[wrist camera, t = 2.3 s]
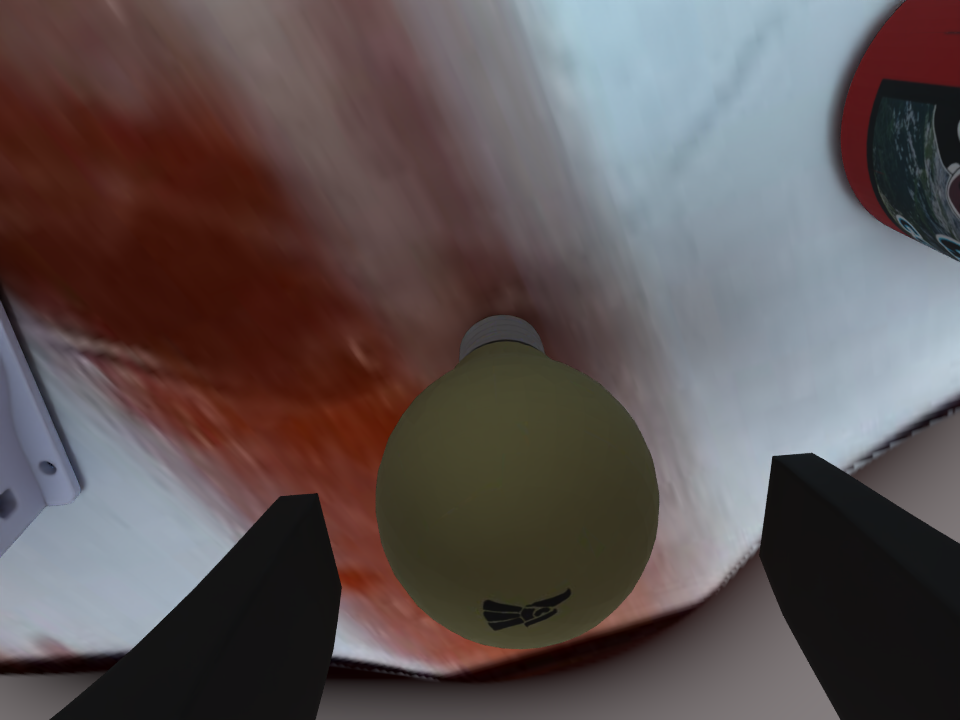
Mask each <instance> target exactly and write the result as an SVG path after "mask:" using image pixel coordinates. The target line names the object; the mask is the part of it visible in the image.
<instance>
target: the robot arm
mask: <svg viewBox="0 0 960 720" xmlns="http://www.w3.org/2000/svg"><path fill="white" fill-rule="evenodd" d="M47 462H50V463H52V464H53V465H54V466H55V467H52V466H50V465H49V464H48V463H47ZM80 491H81V489H80V485H79V483H78V480H77V478H76V476H75V473H74V471H73V469H72V466H71V464H70V462H69V459H68V457H67V455H66V452H65V450H64V448H63V445H62V443H61V441H60V438H59V436H58V434H57V431H56V429H55V427H54V424H53V422H52V420H51V417H50V415H49V413H48V410H47V408H46V406H45V403H44V401H43V399H42V396H41V394H40V392H39V389H38V387H37V385H36V382H35V380H34V378H33V375H32V373H31V370H30V368H29V366H28V363H27V361H26V359H25V356H24V354H23V352H22V349H21V347H20V345H19V342H18V340H17V338H16V335H15V333H14V331H13V328H12V326H11V324H10V321H9V319H8V317H7V314H6V312H5V310H4V307H3V305H2V303H1V300H0V558H1V556H2V555H3V554H4V553H5V552H6V551H7V550H8V549H9V547H10V546H11V545H12V544H13V543H14V542H15V541H16V540H17V538H18V537H19V536H20V535H21V534H22V533H23V532H24V531H25V530H26V528H27V527H28V526H29V525H30V524H31V523H32V522H33V521H34V519H35V518H36V517H37V516H38V515H39V514H40V513H41V512H42V510H43V509H44V508H45V507H46V506H55V505H67V504H71V503H72V502H73V501H74V500H75V499H76V498H77V497H78V496H79V494H80ZM759 556H760V559H761V561H762V564H763V566H764V569H765V572H766V574H767V577H768V579H769V582H770V585H771V587H772V590H773V592H774V595H775V597H776V599H777V602H778V604H779V607H780V609H781V611H782V614H783V616H784V618H785V619H786V622H787V623H788V625H789V627H790V629H791V631H792V633H793V635H794V636H795V638H796V640H797V642H798V644H799V646H800V648H801V649H802V651H803V653H804V655H805V657H806V658H807V660H808V662H809V664H810V666H811V668H812V669H813V671H814V673H815V675H816V677H817V678H818V680H819V682H820V684H821V685H822V687H823V689H824V691H825V693H826V694H827V696H828V698H829V700H830V701H831V703H832V705H833V707H834V709H835V711H836V712H837V714H838V716H839V718H840V720H960V544H959V543H958V542H956V541H954V540H953V539H951V538H949V537H948V536H946V535H944V534H943V533H941V532H939V531H938V530H936V529H934V528H932V527H931V526H929V525H928V524H926V523H925V522H923V521H921V520H920V519H918V518H916V517H915V516H913V515H912V514H910V513H908V512H907V511H905V510H904V509H902V508H900V507H899V506H897V505H896V504H894V503H893V502H891V501H889V500H888V499H886V498H885V497H883V496H881V495H880V494H878V493H877V492H875V491H873V490H872V489H870V488H869V487H867V486H866V485H864V484H863V483H861V482H859V481H858V480H856V479H855V478H853V477H852V476H850V475H848V474H847V473H845V472H844V471H842V470H840V469H839V468H837V467H835V466H834V465H832V464H831V463H829V462H827V461H826V460H824V459H822V458H820V457H819V456H817V455H815V454H813V453H805V454H793V455H781V456H773V457H772V464H771V471H770V479H769V486H768V494H767V501H766V509H765V516H764V523H763V531H762V538H761V546H760V554H759ZM341 589H342V586H341V583H340V579H339V575H338V571H337V567H336V563H335V559H334V555H333V551H332V547H331V544H330V540H329V536H328V532H327V528H326V524H325V520H324V516H323V512H322V508H321V505H320V501H319V497H318V493H314V494H302V495H290V496H280V497H279V498H278V499H277V500H276V501H275V502H274V503H273V504H272V505H271V506H270V507H269V509H268V510H267V511H266V512H265V513H264V514H263V515H262V516H261V517H260V518H259V519H258V521H257V522H256V523H255V524H254V525H253V526H252V527H251V528H250V529H249V530H248V532H247V533H246V534H245V535H244V536H243V537H242V538H241V539H240V540H239V541H238V542H237V544H236V545H235V546H234V547H233V548H232V549H231V550H230V551H229V552H228V553H227V554H226V555H225V557H224V558H223V559H222V560H221V561H220V562H219V563H218V564H217V565H216V566H215V567H214V568H213V569H212V570H211V571H210V572H209V574H208V575H207V576H206V577H205V578H204V579H203V580H202V581H201V582H200V583H199V584H198V585H197V586H196V587H195V588H194V589H193V590H192V591H191V592H190V593H189V594H188V595H187V596H186V597H185V598H184V599H183V600H182V601H181V602H180V603H179V604H178V605H177V606H176V607H175V608H174V609H173V610H172V611H171V612H170V613H169V614H168V615H167V616H166V617H165V618H164V619H163V620H162V621H161V622H160V623H159V624H158V625H157V626H156V627H155V628H154V629H153V630H151V631H150V632H149V633H148V634H147V635H146V636H145V637H144V638H143V639H142V640H141V641H140V642H139V643H138V644H137V645H136V646H135V647H134V648H133V649H132V650H131V651H130V652H128V653H127V654H126V655H125V656H124V657H123V658H122V659H121V660H120V661H118V662H117V663H116V664H115V665H114V666H113V667H112V668H111V669H109V670H108V671H107V672H106V673H105V674H104V675H103V676H101V677H100V678H99V679H98V680H97V681H96V682H94V683H93V684H92V685H91V686H90V687H88V688H87V689H86V690H85V691H84V692H82V693H81V694H80V695H79V696H78V697H77V698H75V699H74V700H73V701H72V702H71V703H69V704H68V705H67V706H66V707H65V708H64V709H62V710H61V711H60V712H59V713H57V714H56V715H55V716H53V717H52V718H51V719H50V720H315V719H316V716H317V712H318V708H319V704H320V700H321V696H322V693H323V689H324V685H325V681H326V677H327V673H328V669H329V665H330V661H331V657H332V653H333V649H334V642H335V635H336V629H337V622H338V614H339V606H340V597H341Z"/></svg>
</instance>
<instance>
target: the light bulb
mask: <svg viewBox="0 0 960 720" xmlns="http://www.w3.org/2000/svg"><path fill="white" fill-rule="evenodd" d="M658 515H659V490H658V484H657V479H656V474H655V468H654V463H653V460H652V457H651V454H650V451H649V449H648V447H647V445H646V443H645V441H644V438H643V436H642V434H641V432H640V430H639V428H638V427H637V425H636V423H635V421H634V420H633V419H632V417H631V416H630V415H629V413H628V412H627V411H626V409H625V408H624V407H623V406H622V405H621V404H620V403H619V402H618V401H617V400H616V399H615V398H614V397H613V396H612V395H611V394H610V393H609V392H608V391H607V390H606V389H605V388H604V387H603V386H602V385H601V384H599V383H598V382H596V381H595V380H593V379H592V378H590V377H589V376H587V375H586V374H584V373H582V372H580V371H578V370H576V369H574V368H572V367H570V366H568V365H566V364H563V363H561V362H558V361H554V360H551V359H550V358H549V357H548V356H546V355H545V352H544V348H543V345H542V342H541V339H540V336H539V335H538V333H537V332H536V330H535V329H534V328H533V327H532V326H531V325H530V324H529V323H528V322H526V321H525V320H523V319H521V318H518V317H514V316H509V315H495V316H491V317H487V318H485V319H483V320H481V321H479V322H477V323H476V324H474V325H473V326H472V327H471V328H470V329H469V330H468V331H467V332H466V334H465V336H464V337H463V340H462V343H461V346H460V356H459V363H458V364H457V365H456V366H455V368H454V369H453V370H451V371H450V372H448V373H446V374H445V375H443V376H442V377H440V378H439V379H438V380H436V381H435V382H434V383H432V384H431V385H430V386H428V387H427V388H426V389H425V390H424V391H423V392H422V393H421V394H419V395H418V396H417V397H416V398H415V399H414V401H413V402H412V403H411V405H410V406H409V407H408V409H407V410H406V411H405V413H404V414H403V415H402V417H401V418H400V420H399V422H398V423H397V425H396V427H395V428H394V430H393V432H392V433H391V435H390V437H389V439H388V442H387V445H386V448H385V451H384V454H383V457H382V461H381V464H380V467H379V470H378V476H377V485H376V517H377V522H378V528H379V533H380V538H381V543H382V546H383V549H384V552H385V554H386V557H387V559H388V561H389V564H390V566H391V568H392V570H393V572H394V575H395V576H396V578H397V579H398V580H399V582H400V583H401V584H402V586H403V587H404V588H405V590H406V591H407V592H408V594H409V595H410V596H411V598H412V599H413V600H414V602H415V603H416V604H417V605H418V607H419V608H421V609H422V610H423V611H424V612H425V613H426V614H428V615H429V616H430V617H431V618H432V619H433V620H435V621H436V622H438V623H440V624H441V625H443V626H444V627H446V628H447V629H449V630H450V631H452V632H454V633H456V634H458V635H460V636H462V637H464V638H465V639H468V640H471V641H474V642H477V643H480V644H483V645H488V646H493V647H499V648H509V649H529V648H540V647H545V646H549V645H554V644H558V643H562V642H564V641H567V640H570V639H572V638H575V637H577V636H580V635H581V634H583V633H585V632H587V631H588V630H590V629H592V628H594V627H595V626H597V625H598V624H599V623H600V622H601V621H603V620H604V619H605V618H606V617H608V616H609V615H610V614H611V613H612V612H613V611H614V610H615V609H616V608H617V607H618V606H619V605H620V604H621V603H622V602H623V601H624V600H625V599H626V598H627V596H628V595H629V594H630V593H631V592H632V590H633V588H634V587H635V585H636V583H637V582H638V580H639V578H640V577H641V575H642V573H643V571H644V569H645V567H646V564H647V562H648V560H649V558H650V555H651V552H652V549H653V545H654V542H655V539H656V533H657V527H658Z"/></svg>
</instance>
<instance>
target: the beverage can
mask: <svg viewBox="0 0 960 720" xmlns="http://www.w3.org/2000/svg"><path fill="white" fill-rule="evenodd" d="M841 153H842V160H843V165H844V170H845V173H846V176H847V179H848V181H849V184H850V186H851V188H852V190H853V192H854V193H855V195H856V197H857V198H858V200H859V201H860V202H861V204H862V205H863V206H864V207H865V209H866V210H867V211H868V212H869V213H870V214H871V215H873V216H874V217H875V218H876V219H877V220H879V221H880V222H882V223H883V224H885V225H886V226H888V227H890V228H892V229H894V230H896V231H898V232H900V233H902V234H904V235H906V236H908V237H910V238H912V239H914V240H916V241H918V242H920V243H922V244H924V245H926V246H928V247H930V248H932V249H934V250H936V251H938V252H940V253H943V254H945V255H947V256H949V257H951V258H953V259H955V260H957V261H959V262H960V0H906V1H905V2H904V3H903V4H902V5H901V6H900V7H899V8H898V9H897V10H896V11H895V12H894V14H893V15H892V16H891V17H890V18H889V19H888V20H887V22H886V23H885V24H884V26H883V27H882V28H881V30H880V31H879V32H878V34H877V35H876V37H875V38H874V40H873V41H872V43H871V44H870V46H869V47H868V49H867V51H866V53H865V54H864V56H863V58H862V60H861V62H860V64H859V66H858V68H857V70H856V72H855V75H854V77H853V80H852V82H851V85H850V88H849V91H848V94H847V97H846V102H845V106H844V110H843V116H842V123H841Z"/></svg>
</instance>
